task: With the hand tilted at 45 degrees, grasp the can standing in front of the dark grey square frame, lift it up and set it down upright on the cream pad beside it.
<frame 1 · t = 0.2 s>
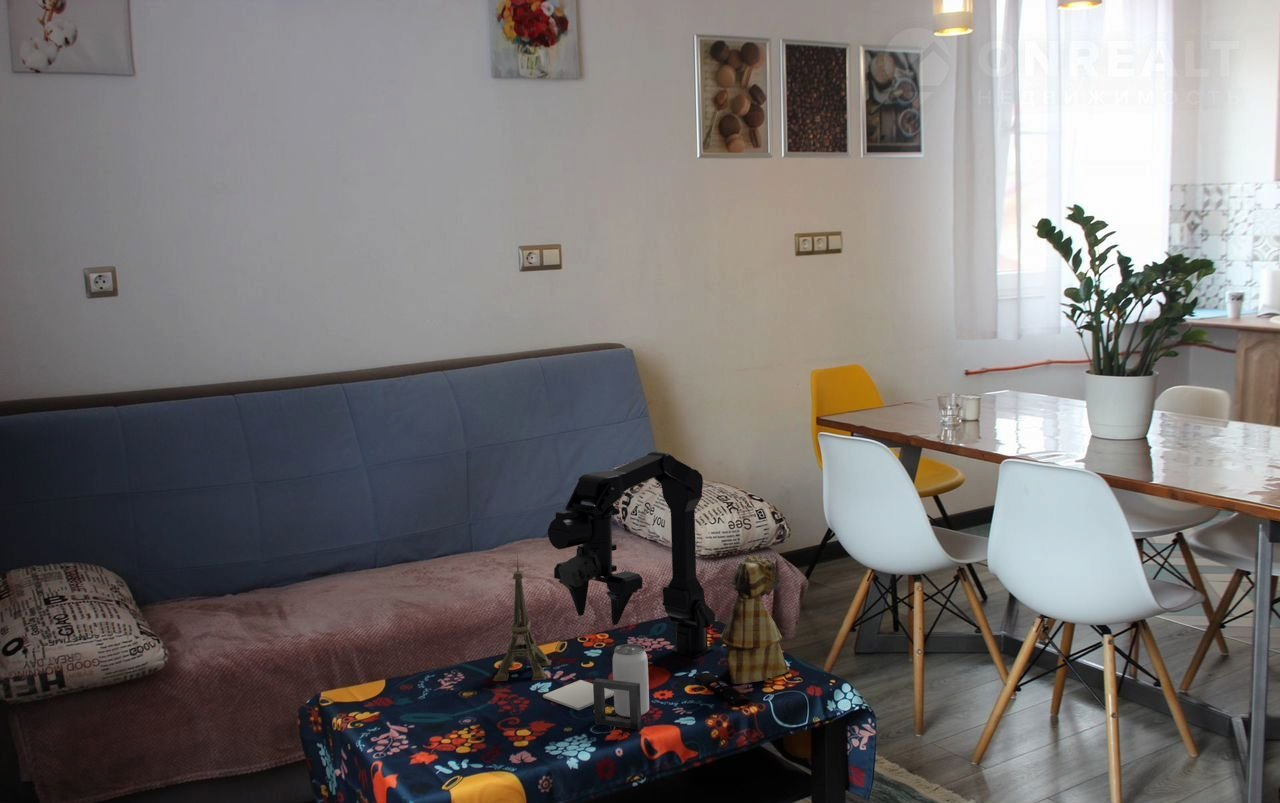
hand: (597, 619, 220), 14 cm above the table, tool pointing down, fingers open, 9 cm apart
dark grey square frame: (631, 711, 212), on the table
pad: (579, 695, 220), on the table
plush toy: (750, 673, 229), on the table
eiffel tower: (523, 672, 235), on the table
can: (631, 712, 212), on the table
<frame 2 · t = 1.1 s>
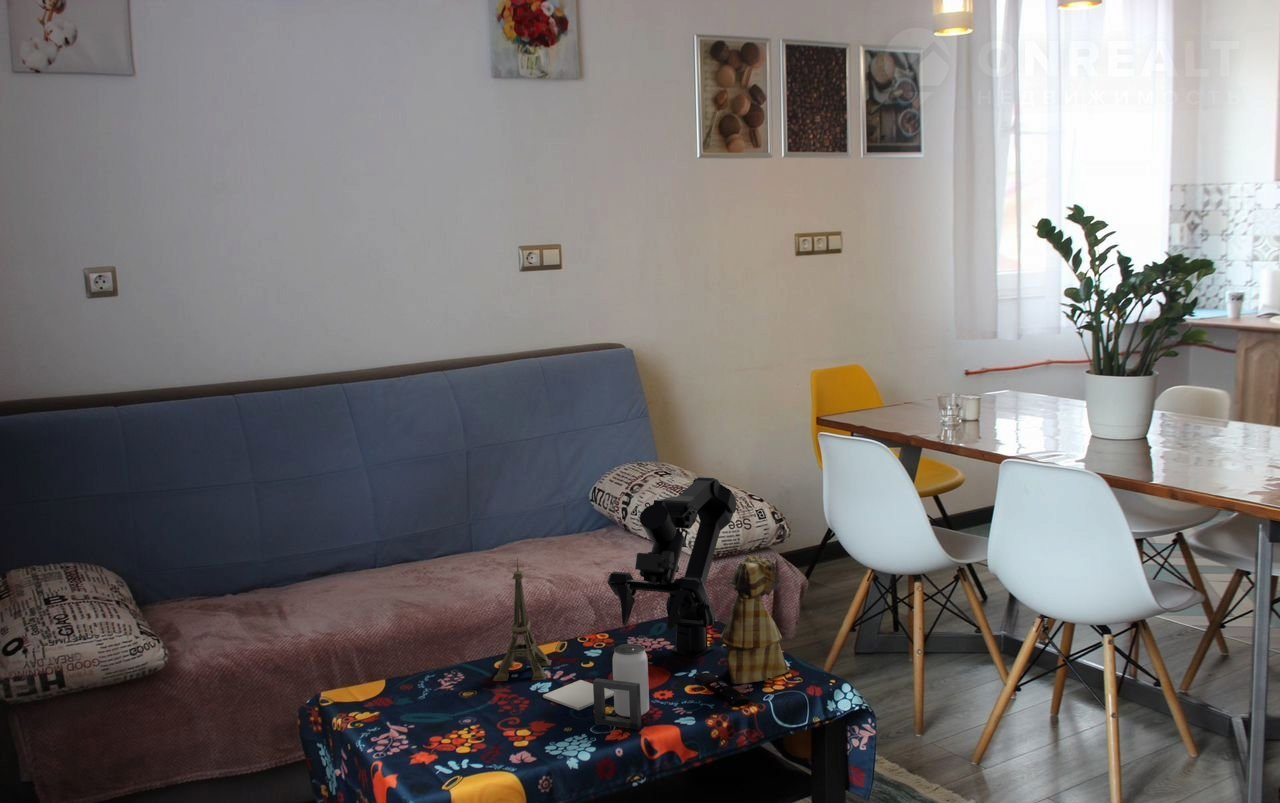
hand: (646, 627, 218), 13 cm above the table, tool tilted 45°, fingers open, 9 cm apart
nothing on the table moved.
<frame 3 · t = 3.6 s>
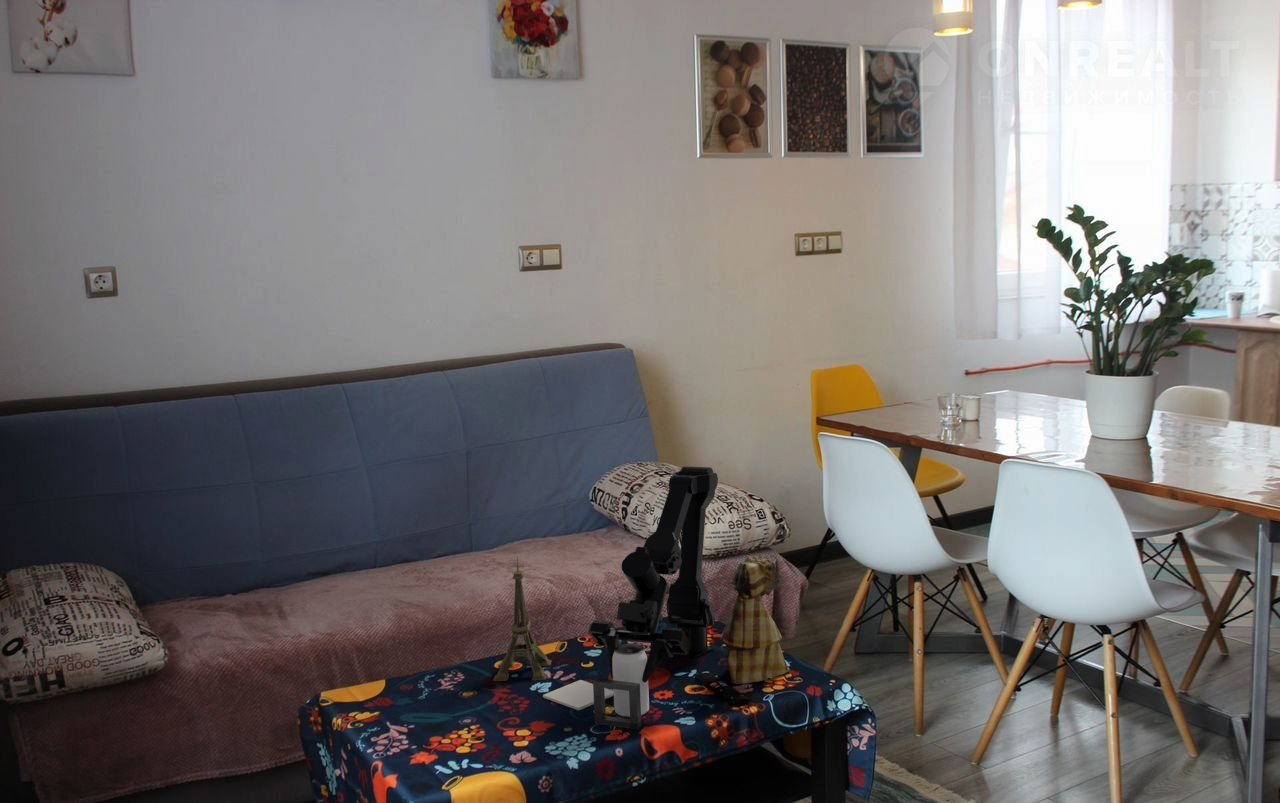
hand: (628, 679, 210), 7 cm above the table, tool tilted 45°, fingers open, 6 cm apart
can: (631, 712, 212), on the table, touching gripper
everything else where it was.
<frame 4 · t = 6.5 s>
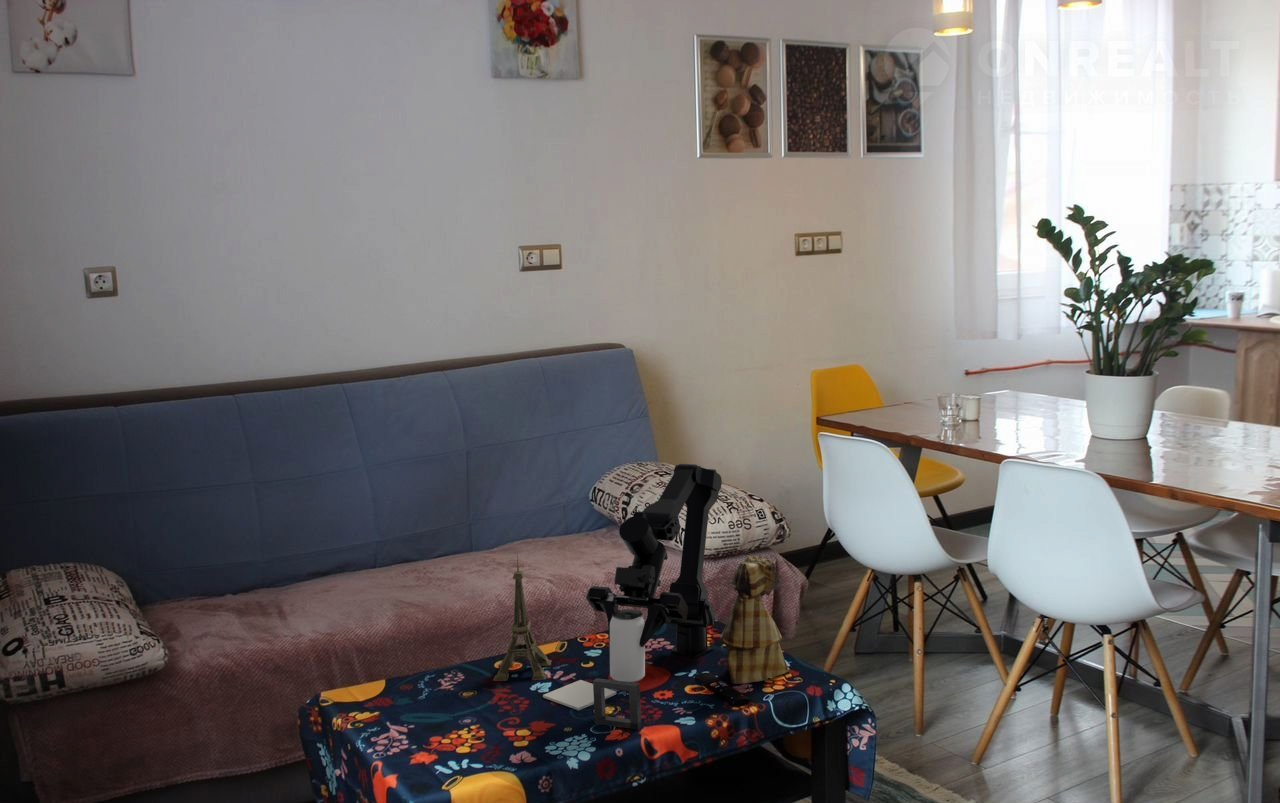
hand: (625, 644, 209), 13 cm above the table, tool tilted 45°, fingers closed on can, 6 cm apart
can: (627, 677, 212), point 6 cm above the table, touching gripper
everything else where it was.
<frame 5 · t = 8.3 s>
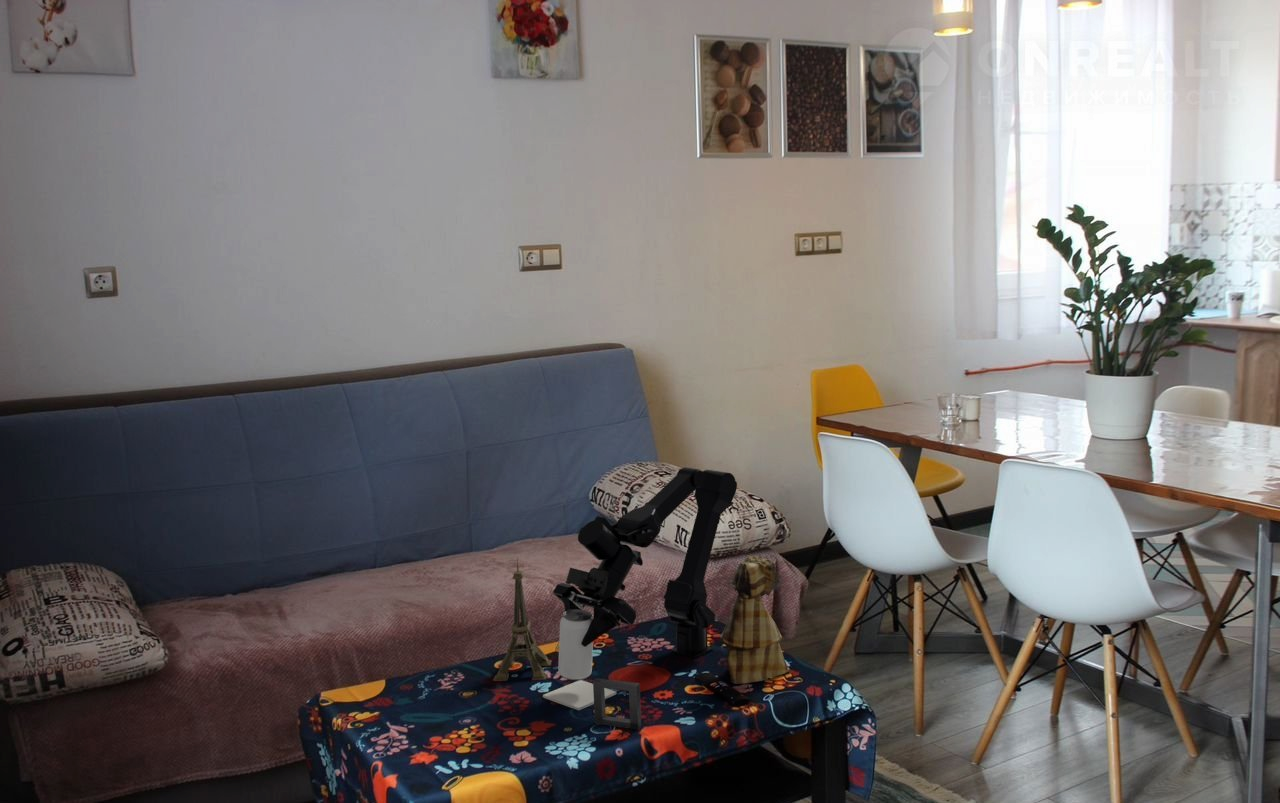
hand: (572, 642, 218), 11 cm above the table, tool tilted 45°, fingers closed on can, 6 cm apart
can: (574, 674, 221), point 4 cm above the table, touching gripper
everything else where it was.
when the fingers open (8 cm above the table, at t = 9.4 s): can stays where it is, resting on pad.
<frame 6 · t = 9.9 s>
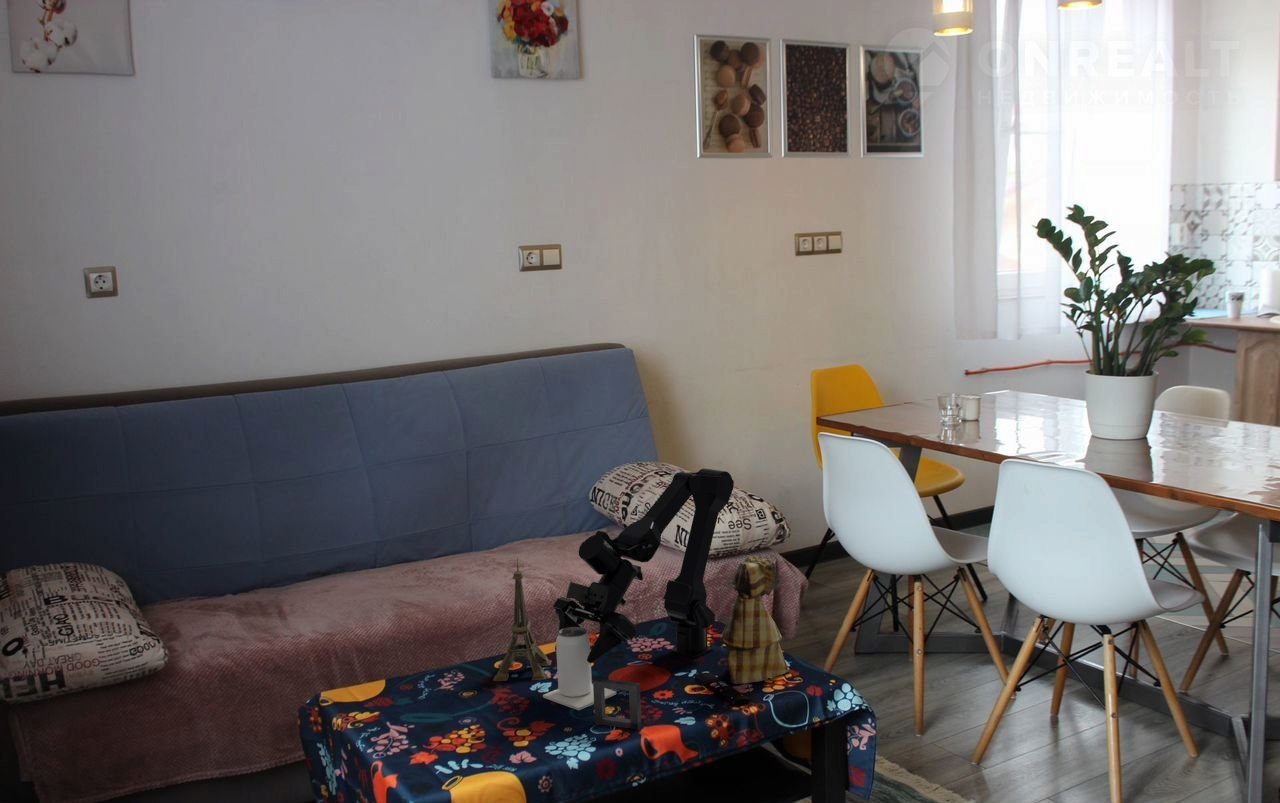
hand: (572, 656, 218), 8 cm above the table, tool tilted 45°, fingers open, 9 cm apart
can: (575, 692, 221), resting on pad
everything else where it was.
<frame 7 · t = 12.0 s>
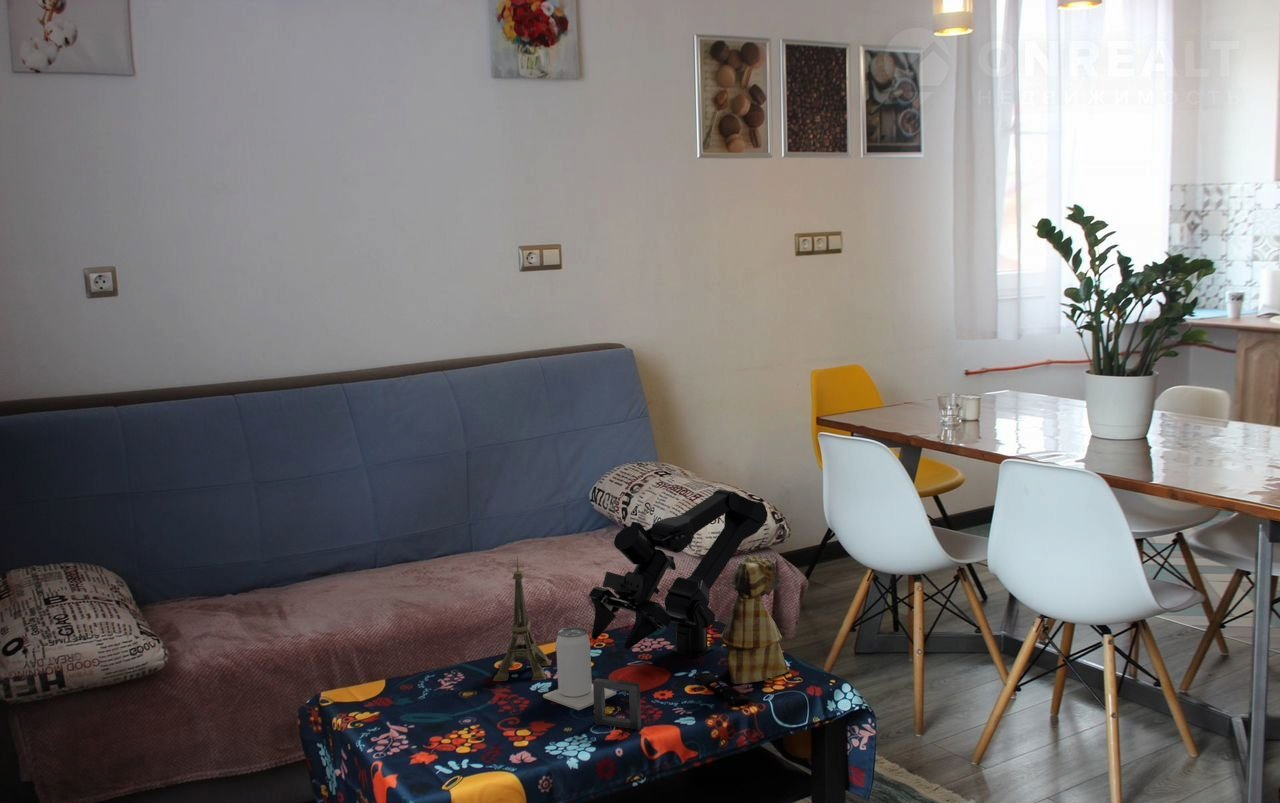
hand: (608, 643, 225), 8 cm above the table, tool tilted 45°, fingers open, 9 cm apart
nothing on the table moved.
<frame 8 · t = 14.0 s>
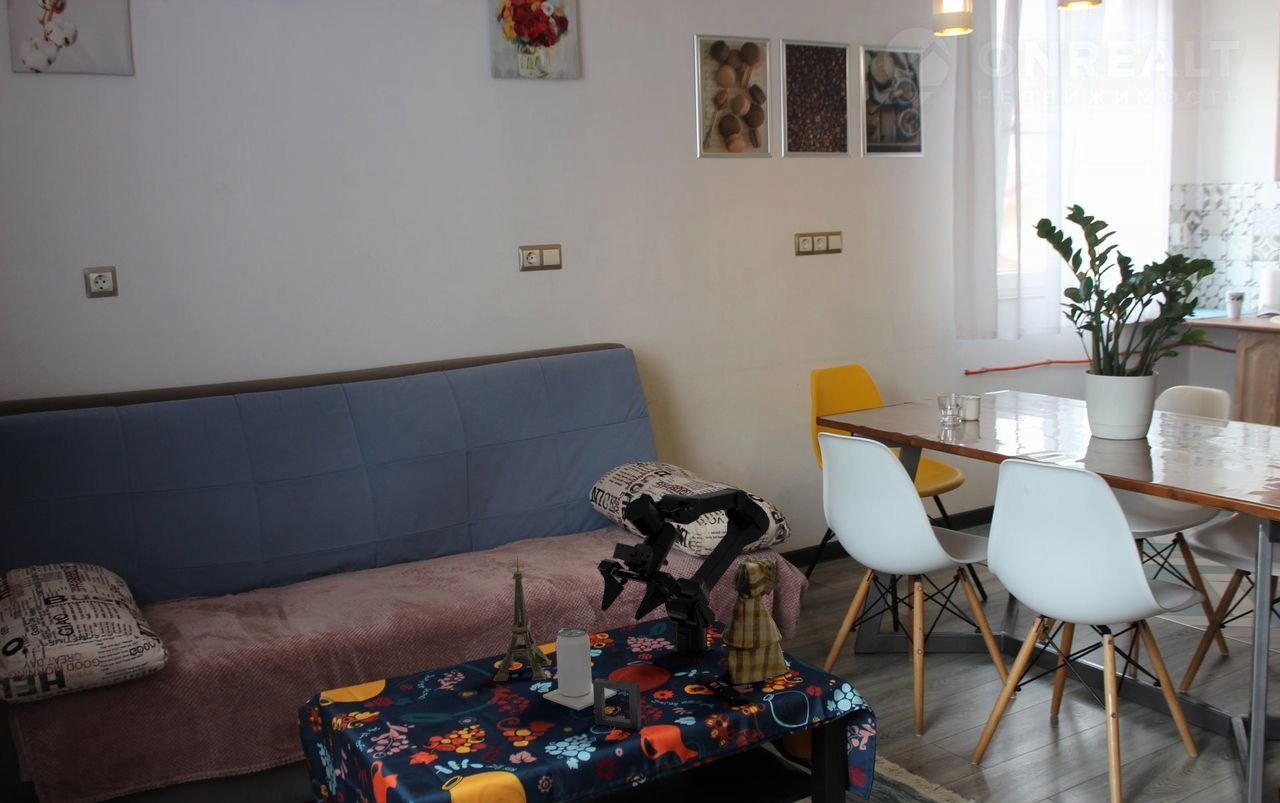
hand: (619, 614, 225), 14 cm above the table, tool tilted 45°, fingers open, 9 cm apart
nothing on the table moved.
at the end: can 1.3 cm off-centre on the pad, point 0.3 cm above the pad's base; can tilted 0°; the gripper is holding nothing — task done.
